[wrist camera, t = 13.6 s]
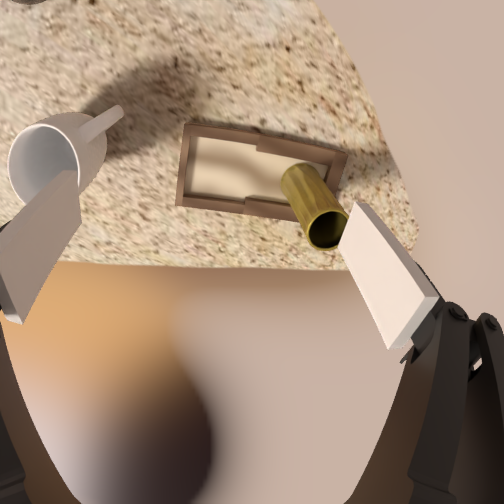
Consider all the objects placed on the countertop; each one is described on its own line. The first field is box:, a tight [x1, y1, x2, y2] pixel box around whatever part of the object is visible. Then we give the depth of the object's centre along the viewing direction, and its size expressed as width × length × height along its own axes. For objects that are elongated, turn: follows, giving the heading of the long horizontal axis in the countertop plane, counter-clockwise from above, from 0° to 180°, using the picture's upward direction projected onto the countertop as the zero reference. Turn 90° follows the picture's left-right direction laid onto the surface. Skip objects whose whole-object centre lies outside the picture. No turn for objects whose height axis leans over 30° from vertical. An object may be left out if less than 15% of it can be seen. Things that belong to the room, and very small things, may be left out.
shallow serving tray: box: [175, 123, 348, 223], centre depth 41 cm, size 12×23×2 cm, turn 79°
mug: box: [8, 105, 124, 205], centre depth 30 cm, size 15×11×13 cm
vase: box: [280, 163, 349, 251], centre depth 37 cm, size 6×6×14 cm
